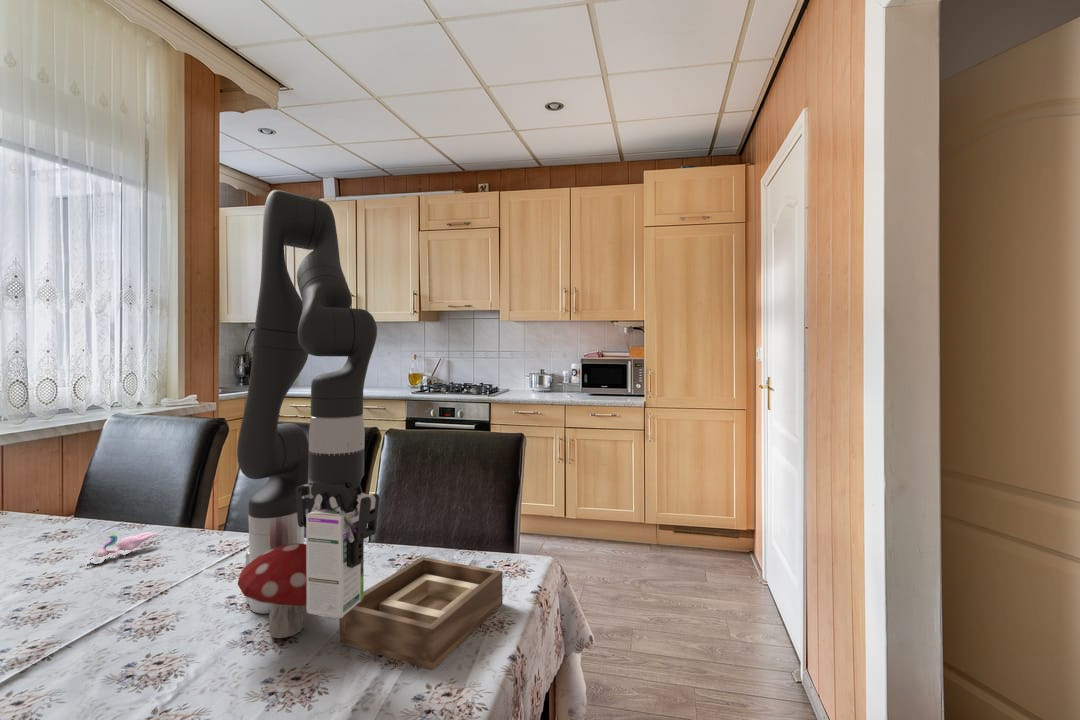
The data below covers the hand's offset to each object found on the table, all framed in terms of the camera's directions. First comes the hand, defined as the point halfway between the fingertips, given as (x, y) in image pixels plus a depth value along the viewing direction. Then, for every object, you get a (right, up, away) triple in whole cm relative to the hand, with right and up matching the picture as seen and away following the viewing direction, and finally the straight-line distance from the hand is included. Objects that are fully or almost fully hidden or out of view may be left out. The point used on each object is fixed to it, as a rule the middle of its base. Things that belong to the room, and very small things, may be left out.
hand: (335, 560), depth 76 cm
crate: (+10, -16, +15) cm, 24 cm away
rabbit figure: (-67, -16, +45) cm, 82 cm away
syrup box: (0, -7, 0) cm, 7 cm away
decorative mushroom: (-11, -17, +11) cm, 23 cm away
